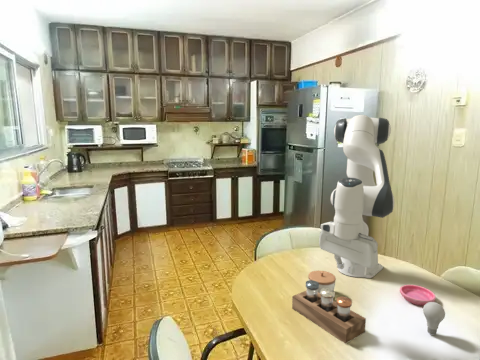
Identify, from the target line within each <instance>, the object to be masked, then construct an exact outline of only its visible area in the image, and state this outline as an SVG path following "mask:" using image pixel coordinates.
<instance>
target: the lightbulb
mask: <svg viewBox="0 0 480 360" xmlns="http://www.w3.org/2000/svg"><path fill="white" fill-rule="evenodd" d="M422 313H423V316H424V317H425V319H426V326H427V333H428V334H429V335H431V336H435V335H436V334H437V332H438V329H439V326H440V323H442V321H444V319H445V318H446V311H445V309H444V307H443V305H441V304H439V303H438V302H436V301H434V302H428V303H426V304H425V305H424V306H423V308H422Z"/></svg>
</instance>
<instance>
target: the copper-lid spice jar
mask: <svg viewBox="0 0 480 360" xmlns="http://www.w3.org/2000/svg"><path fill="white" fill-rule="evenodd" d="M335 302H336V303H337V305H338V306H337V318H338V319H340V320H341V321H348V320H349V319H350V310H351V307H352V303H353V300H352V299H351V298H349V297H347V296H338V297H337V298H336V301H335Z"/></svg>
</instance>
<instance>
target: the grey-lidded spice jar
mask: <svg viewBox="0 0 480 360" xmlns="http://www.w3.org/2000/svg"><path fill="white" fill-rule="evenodd" d="M305 288H306V290H307V293H306V299H307V300H308V301H310V302H316V301H317V298H318V288H319V283H318V282H317V281H313V280H309V279H308V280H306V281H305Z"/></svg>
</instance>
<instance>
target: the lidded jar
mask: <svg viewBox="0 0 480 360" xmlns="http://www.w3.org/2000/svg"><path fill="white" fill-rule="evenodd" d="M307 276H308V277H307V278H308V281H309V280H313V281H317V282H318V283H319V288H318V292H319V293H320V290H321V289H322V288H330V289H332V290H335V286H336V279H337V278H336V276H335V275H334V274H333V273H331V272H330V271H326V270H313V271H310V272H309V273H308V275H307Z"/></svg>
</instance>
